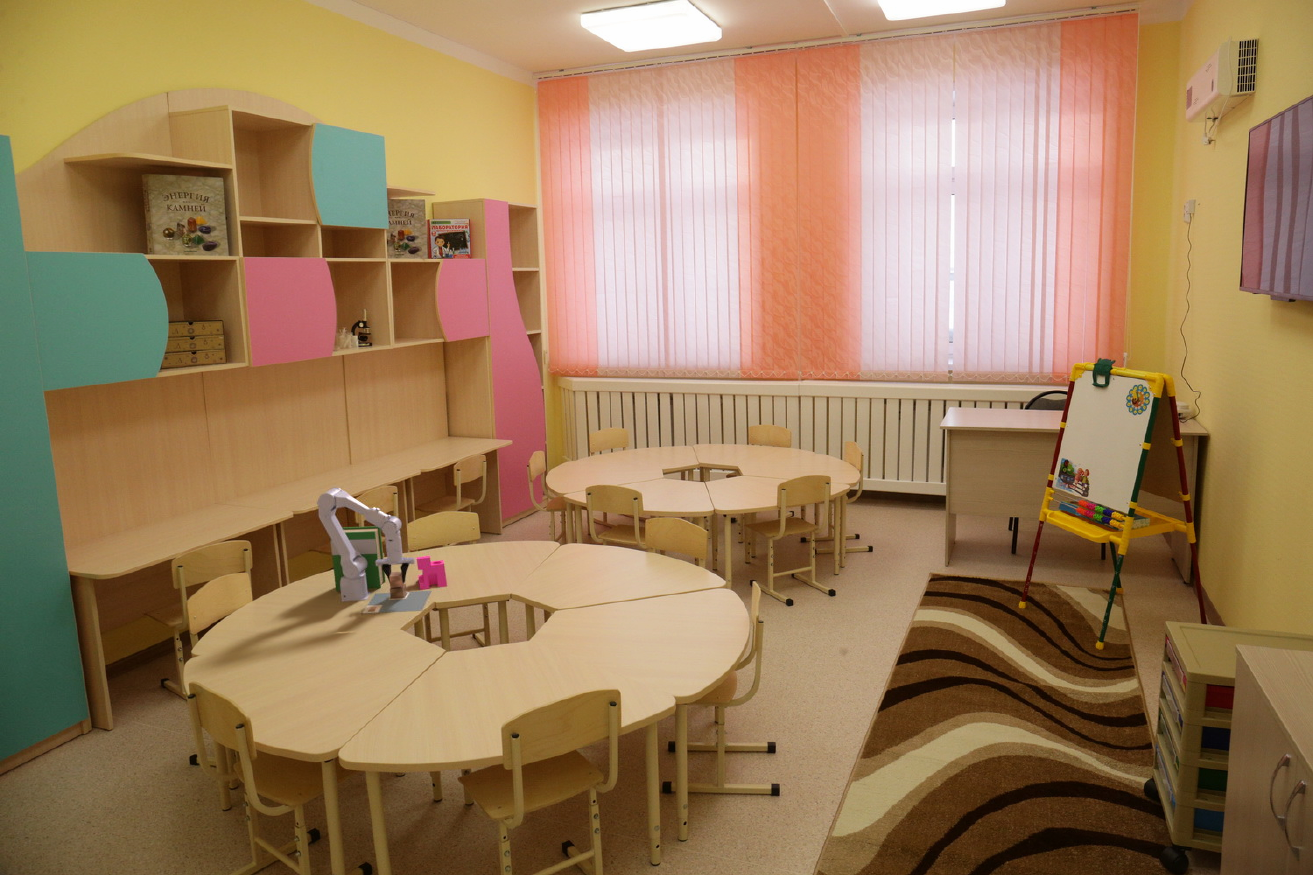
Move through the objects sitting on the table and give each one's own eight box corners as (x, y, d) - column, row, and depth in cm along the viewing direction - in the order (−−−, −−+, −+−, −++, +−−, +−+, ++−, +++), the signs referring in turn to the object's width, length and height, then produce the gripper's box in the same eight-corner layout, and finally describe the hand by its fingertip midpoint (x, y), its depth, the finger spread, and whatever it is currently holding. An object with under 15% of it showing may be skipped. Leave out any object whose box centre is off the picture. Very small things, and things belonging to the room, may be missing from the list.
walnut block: (390, 598, 343) (389, 589, 342) (393, 593, 348) (392, 584, 347) (403, 598, 343) (402, 588, 342) (406, 593, 348) (405, 583, 347)
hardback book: (385, 582, 362) (380, 526, 357) (380, 589, 354) (374, 531, 350) (342, 584, 362) (336, 527, 357) (336, 590, 354) (329, 533, 350)
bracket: (418, 581, 362) (416, 557, 360) (444, 577, 365) (442, 553, 363) (420, 591, 351) (418, 566, 349) (447, 587, 354) (445, 563, 352)
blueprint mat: (361, 615, 329) (361, 613, 329) (375, 594, 349) (375, 593, 349) (422, 611, 330) (421, 610, 330) (431, 591, 350) (431, 590, 350)
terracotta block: (390, 587, 342) (389, 576, 341) (392, 583, 346) (391, 572, 345) (402, 586, 342) (401, 575, 341) (404, 582, 346) (403, 571, 345)
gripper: (372, 553, 337) (375, 586, 340) (411, 551, 338) (414, 584, 341) (376, 547, 344) (380, 580, 347) (414, 545, 345) (417, 578, 347)
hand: (397, 582), depth 344 cm, fingers closed on terracotta block, 4 cm apart
